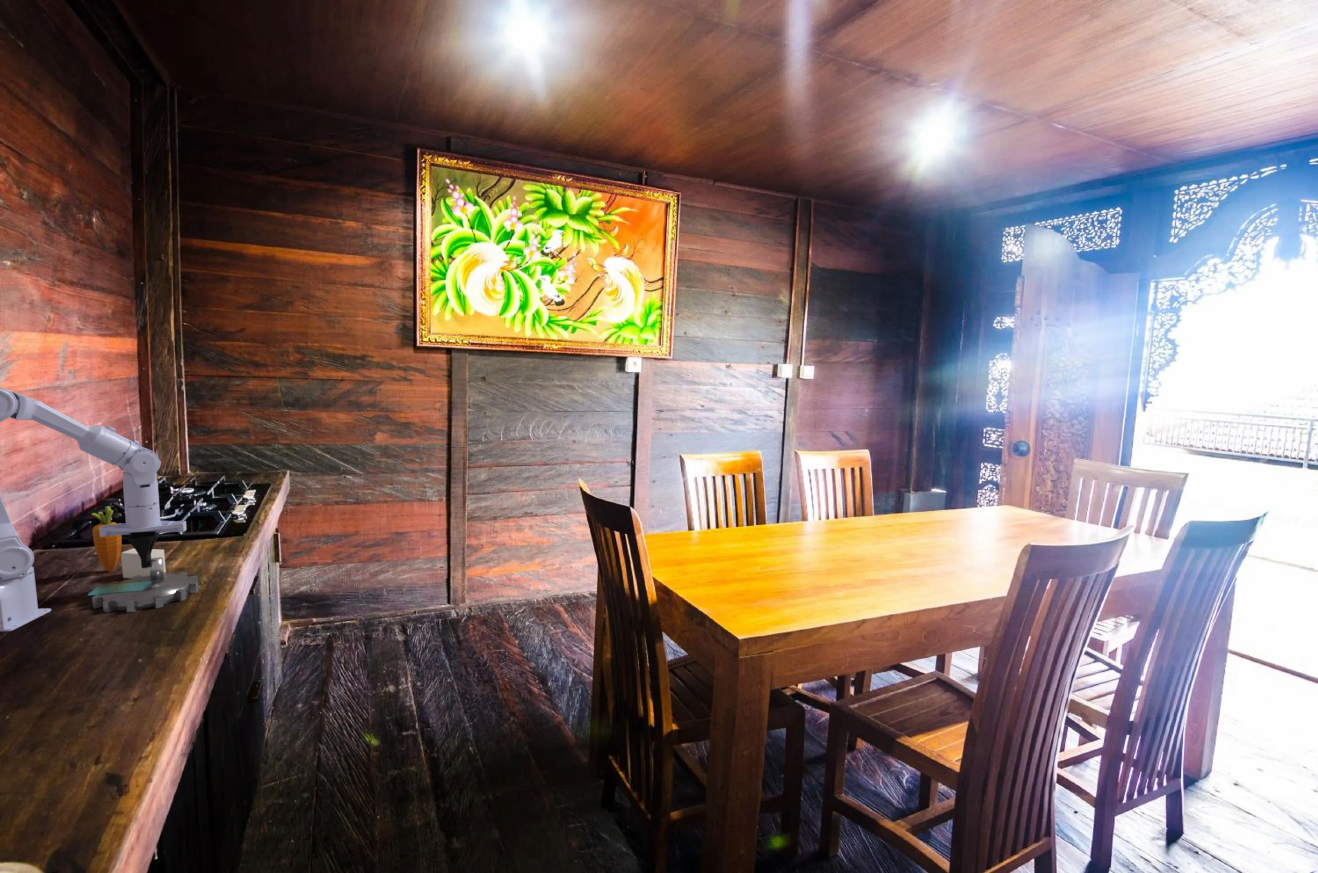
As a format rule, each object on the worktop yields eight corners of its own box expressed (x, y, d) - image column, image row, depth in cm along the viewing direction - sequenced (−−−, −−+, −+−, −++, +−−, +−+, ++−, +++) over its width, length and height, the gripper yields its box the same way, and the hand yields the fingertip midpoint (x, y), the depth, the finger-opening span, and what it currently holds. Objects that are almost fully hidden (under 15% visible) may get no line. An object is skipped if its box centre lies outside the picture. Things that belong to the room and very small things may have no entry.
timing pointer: (107, 593, 140) (107, 587, 139) (101, 595, 138) (101, 590, 138) (94, 592, 140) (93, 586, 140) (88, 594, 138) (87, 589, 138)
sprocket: (130, 618, 127) (127, 588, 126) (72, 603, 133) (69, 574, 132) (218, 588, 143) (216, 561, 142) (163, 576, 149) (161, 550, 148)
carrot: (108, 577, 148) (102, 511, 146) (90, 575, 149) (84, 509, 147) (130, 570, 153) (125, 505, 151) (112, 567, 154) (107, 504, 152)
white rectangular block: (166, 575, 151) (164, 549, 150) (153, 581, 147) (151, 554, 146) (136, 573, 151) (134, 548, 150) (123, 579, 148) (120, 552, 147)
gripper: (188, 497, 146) (192, 557, 148) (106, 501, 141) (112, 563, 143) (179, 505, 140) (183, 568, 142) (92, 509, 134) (98, 574, 136)
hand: (146, 566), depth 142 cm, fingers closed, pressing on sprocket
